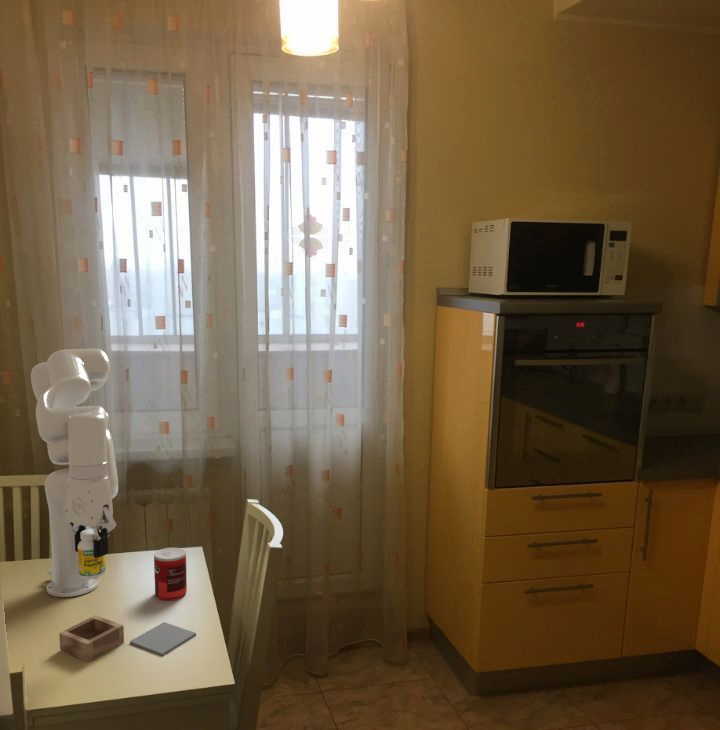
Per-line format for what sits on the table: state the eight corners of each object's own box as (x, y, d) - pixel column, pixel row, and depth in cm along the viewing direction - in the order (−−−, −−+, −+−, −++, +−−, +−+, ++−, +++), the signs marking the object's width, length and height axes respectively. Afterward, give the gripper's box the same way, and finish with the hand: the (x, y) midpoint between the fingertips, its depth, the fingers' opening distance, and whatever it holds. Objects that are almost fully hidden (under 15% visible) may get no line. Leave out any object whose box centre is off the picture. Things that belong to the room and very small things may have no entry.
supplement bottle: (102, 567, 146) (101, 525, 145) (108, 576, 141) (106, 532, 140) (76, 572, 143) (75, 530, 142) (81, 582, 138) (79, 537, 137)
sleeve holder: (60, 650, 142) (59, 633, 141) (96, 631, 150) (95, 615, 149) (88, 662, 137) (87, 644, 137) (124, 642, 145) (123, 625, 145)
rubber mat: (129, 643, 145) (129, 641, 145) (164, 624, 154) (164, 621, 154) (162, 655, 140) (162, 653, 140) (196, 635, 149) (196, 633, 149)
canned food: (163, 586, 173) (162, 546, 172) (191, 588, 172) (191, 548, 171) (149, 599, 166) (148, 557, 165) (179, 602, 165) (178, 559, 163)
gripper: (47, 468, 141) (50, 550, 143) (100, 480, 132) (103, 567, 134) (77, 461, 147) (80, 539, 149) (130, 472, 139) (133, 555, 141)
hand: (91, 552), depth 142 cm, fingers closed on supplement bottle, 5 cm apart
